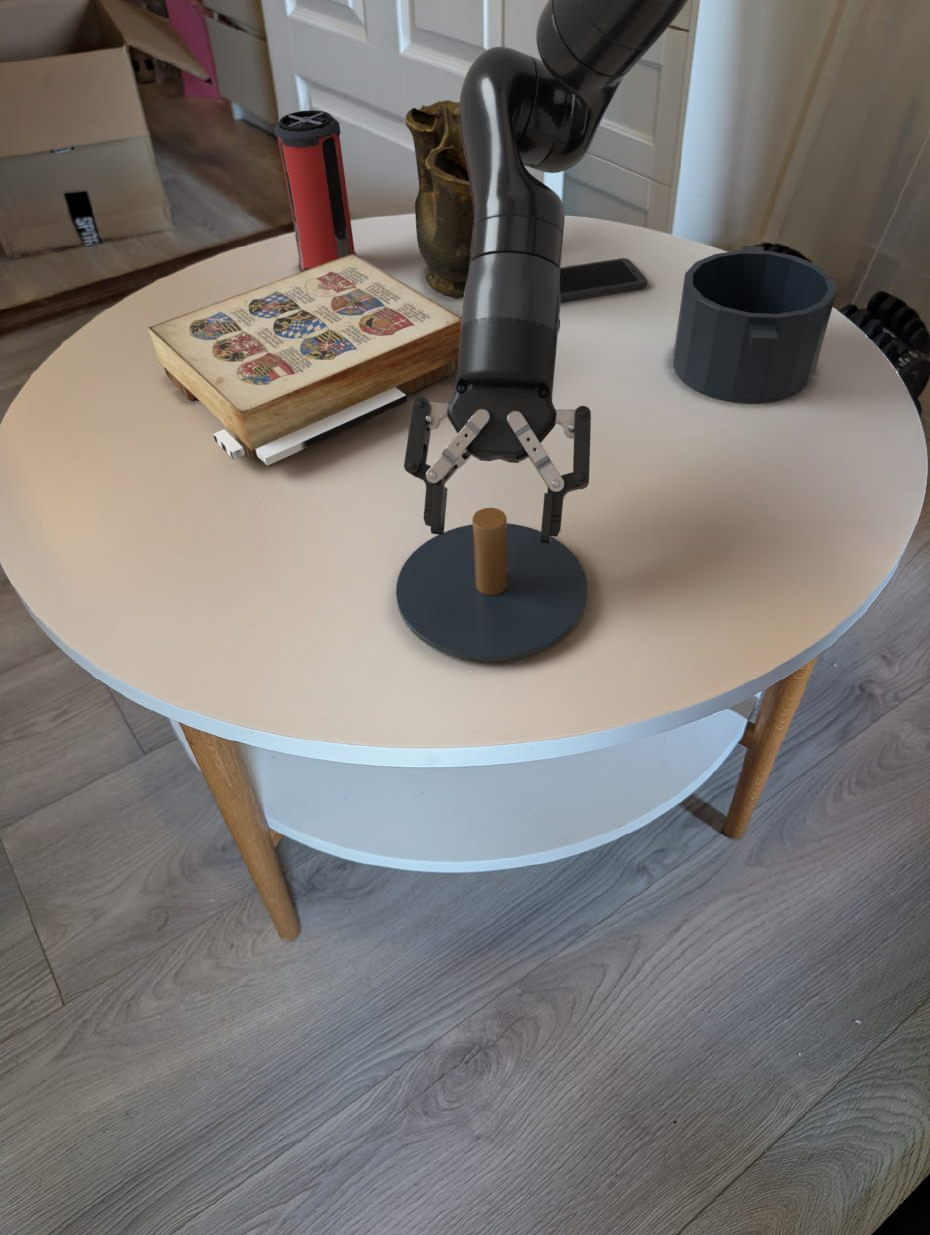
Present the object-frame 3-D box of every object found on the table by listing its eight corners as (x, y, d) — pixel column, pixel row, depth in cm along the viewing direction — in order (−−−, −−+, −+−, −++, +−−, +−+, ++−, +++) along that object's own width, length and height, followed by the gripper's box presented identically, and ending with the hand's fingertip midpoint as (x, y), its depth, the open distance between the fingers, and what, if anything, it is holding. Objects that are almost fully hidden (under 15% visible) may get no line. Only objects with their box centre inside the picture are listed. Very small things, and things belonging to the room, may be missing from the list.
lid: (592, 539, 76) (599, 463, 70) (579, 676, 66) (586, 599, 60) (417, 526, 79) (410, 451, 73) (378, 656, 68) (365, 580, 62)
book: (253, 490, 83) (483, 384, 94) (237, 434, 79) (481, 329, 90) (150, 386, 97) (360, 304, 108) (131, 333, 93) (353, 253, 104)
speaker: (328, 286, 112) (304, 133, 99) (287, 271, 115) (258, 121, 102) (369, 264, 116) (351, 114, 103) (328, 250, 119) (306, 103, 106)
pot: (802, 324, 100) (823, 241, 94) (822, 422, 87) (848, 334, 80) (673, 318, 103) (684, 237, 96) (672, 414, 89) (686, 327, 82)
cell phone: (524, 278, 111) (524, 272, 110) (627, 262, 113) (628, 256, 112) (541, 304, 106) (541, 298, 105) (649, 287, 108) (650, 281, 107)
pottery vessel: (404, 241, 120) (390, 78, 106) (481, 232, 122) (477, 68, 107) (437, 328, 103) (425, 147, 89) (526, 316, 104) (529, 135, 90)
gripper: (409, 309, 65) (390, 527, 65) (602, 317, 63) (582, 542, 63) (428, 339, 72) (411, 535, 73) (601, 347, 70) (583, 548, 71)
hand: (491, 538), depth 68 cm, fingers open, 8 cm apart
